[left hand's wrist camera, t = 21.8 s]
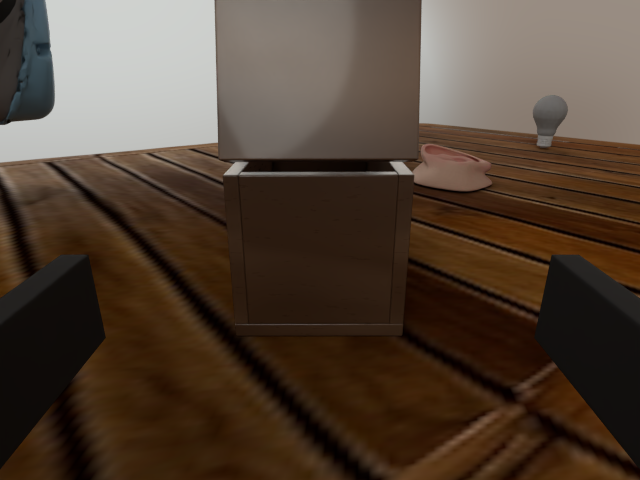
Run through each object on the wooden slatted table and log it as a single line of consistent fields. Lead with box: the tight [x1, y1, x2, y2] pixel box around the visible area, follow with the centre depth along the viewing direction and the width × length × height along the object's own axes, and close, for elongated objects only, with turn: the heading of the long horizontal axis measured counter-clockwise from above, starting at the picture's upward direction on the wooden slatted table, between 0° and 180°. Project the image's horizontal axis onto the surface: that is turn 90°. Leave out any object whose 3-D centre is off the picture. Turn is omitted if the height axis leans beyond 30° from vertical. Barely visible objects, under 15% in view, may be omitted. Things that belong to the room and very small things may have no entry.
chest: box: [223, 162, 414, 336], centre depth 31 cm, size 16×10×10 cm, turn 0°
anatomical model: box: [412, 144, 492, 191], centre depth 61 cm, size 13×4×12 cm
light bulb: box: [533, 95, 568, 148], centre depth 86 cm, size 6×6×10 cm
